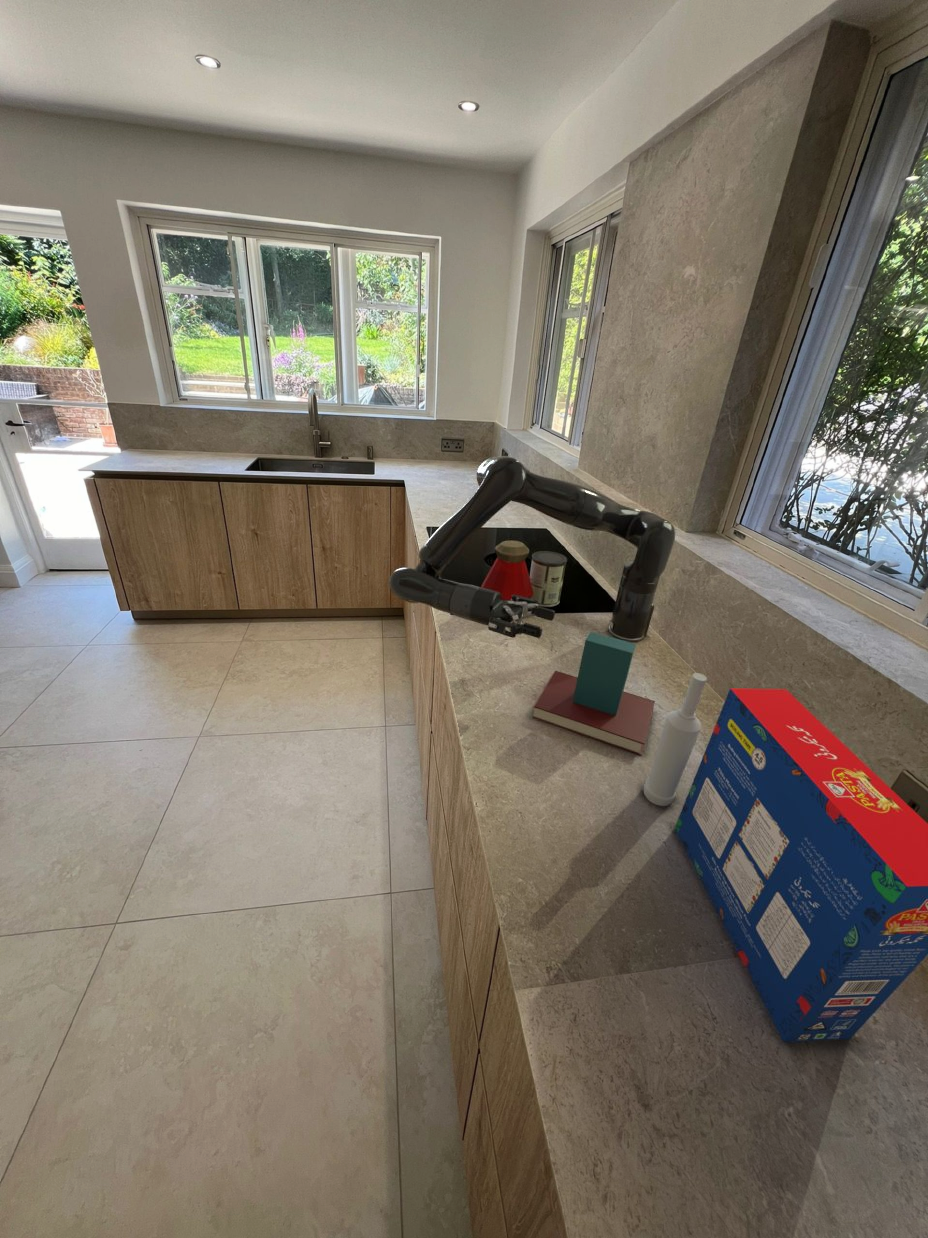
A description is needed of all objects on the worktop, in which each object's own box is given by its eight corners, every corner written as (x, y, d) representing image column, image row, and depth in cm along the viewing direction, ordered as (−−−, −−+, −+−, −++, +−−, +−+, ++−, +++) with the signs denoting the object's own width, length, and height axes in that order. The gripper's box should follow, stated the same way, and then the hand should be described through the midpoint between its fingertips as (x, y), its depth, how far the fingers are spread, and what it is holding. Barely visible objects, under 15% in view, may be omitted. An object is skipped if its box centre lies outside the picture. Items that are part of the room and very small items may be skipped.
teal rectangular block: (572, 701, 103) (585, 640, 95) (577, 691, 106) (590, 631, 99) (615, 716, 99) (632, 653, 92) (619, 705, 103) (636, 643, 96)
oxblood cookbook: (532, 717, 102) (534, 706, 100) (553, 681, 114) (555, 670, 113) (641, 755, 94) (645, 743, 93) (651, 712, 106) (655, 701, 105)
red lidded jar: (522, 596, 153) (530, 534, 144) (538, 617, 142) (548, 551, 132) (473, 599, 149) (478, 535, 140) (485, 620, 138) (492, 552, 129)
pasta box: (850, 1039, 56) (991, 884, 42) (783, 1042, 55) (906, 886, 42) (721, 828, 80) (785, 689, 67) (674, 829, 80) (730, 688, 66)
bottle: (673, 789, 87) (716, 671, 75) (674, 811, 83) (720, 690, 71) (642, 780, 88) (680, 664, 77) (642, 801, 84) (682, 682, 72)
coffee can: (539, 589, 159) (545, 548, 152) (566, 600, 153) (573, 558, 146) (519, 598, 152) (525, 555, 145) (546, 610, 146) (554, 566, 139)
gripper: (462, 600, 98) (539, 622, 92) (490, 577, 110) (560, 594, 104) (459, 633, 102) (534, 655, 96) (487, 607, 113) (555, 626, 107)
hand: (548, 624), depth 100 cm, fingers open, 8 cm apart
